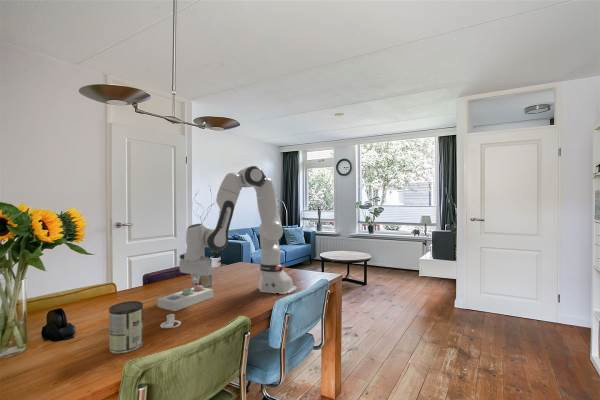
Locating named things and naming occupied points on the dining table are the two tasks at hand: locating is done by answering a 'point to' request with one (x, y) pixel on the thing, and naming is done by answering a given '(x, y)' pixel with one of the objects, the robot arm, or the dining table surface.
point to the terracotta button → (198, 288)
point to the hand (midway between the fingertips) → (195, 282)
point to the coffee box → (204, 280)
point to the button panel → (184, 299)
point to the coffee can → (125, 326)
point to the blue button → (173, 297)
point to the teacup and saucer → (170, 322)
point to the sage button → (186, 292)
